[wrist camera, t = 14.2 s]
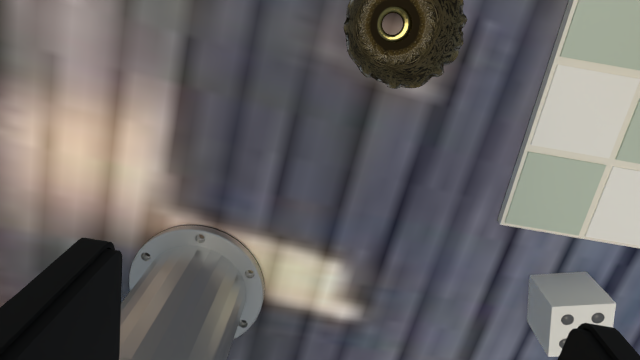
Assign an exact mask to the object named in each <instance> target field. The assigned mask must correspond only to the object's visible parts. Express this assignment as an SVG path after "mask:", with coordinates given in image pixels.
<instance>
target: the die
mask: <svg viewBox="0 0 640 360" xmlns="http://www.w3.org/2000/svg"><path fill="white" fill-rule="evenodd" d="M615 307H616V303H615V302H614V301H613V300H612V299H611V297H610V296H609V295H608V294H607V293H606V292H605V291H604V290H603V289H602V288H601V287H600V286H599V285H598V284H597V282H596V281H595V280H594V279H593V278H592V277H591V276H590V275H589V274H588V273H587V272H572V273H555V274H539V275H530V276H529V293H528V311H527V322H528V324H529V325H530V327H531V329H532V330H533V332H534V334H535V335H536V337H537V339H538V341H539V342H540V344H541V346H542V347H543V349H544V351H545V352H546V354H547V356H548V357H555V356H559V355H560V353H561V351H562V348H563V346H564V344H565V341H566V339H567V336H568V334H569V332H570V331H571V330H572V329H575V328H578V326H580V325H581V324H583V323H590V324H595V325H601V326H607V327H612V328H613V323H614V315H615Z"/></svg>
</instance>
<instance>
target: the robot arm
mask: <svg viewBox="0 0 640 360" xmlns="http://www.w3.org/2000/svg"><path fill="white" fill-rule="evenodd" d="M200 234H201V235H203V236H201V235H200ZM250 270H251V271H250ZM121 280H122V254H121V252H120V251H116V250H115V248H114V245H113V244H112V243H111V242H106V241H100V240H94V239H89V238H81V239H80V240H78V241H77V242H76V243H75V244H74V245H72V246H71V247H70V248H69V249H68V250H67V251H66V252H64V253H63V254H62V255H61V256H60V257H59V258H58V259H56V260H55V261H54V262H53V263H52V264H51V265H50V266H48V267H47V268H46V269H45V270H44V271H43V272H41V273H40V274H39V275H38V276H37V277H36V278H35V279H33V280H32V281H31V282H30V283H29V284H28V285H27V286H25V287H24V288H23V289H22V290H21V291H20V292H19V293H17V294H16V295H15V296H14V297H13V298H12V299H10V300H9V301H7V302H6V303H5V304H4V305H3V306H2V307H0V360H227V358H228V355H229V352H230V349H231V346H232V342H233V339H235V338H237V337H239V336H241V335H242V334H243V333H245V332H246V331H247V330H248V329H249V328H250V327H251V326H252V325H253V323H254V322H255V321H256V319H257V317H258V315H259V313H260V310H261V307H262V304H263V299H264V292H265V290H264V280H263V276H262V273H261V269H260V268H259V266H258V264H257V262H256V260H255V258H254V257H253V256H252V255H251V253H250V252H249V251H248V250H247V249H246V248H245V247H244V246H243V245H242V244H241V243H240V242H238V241H237V240H236V239H234V238H232V237H231V236H229V235H227V234H226V233H223V232H221V231H218V230H216V229H213V228H208V227H203V226H191V225H186V226H179V227H173V228H170V229H167V230H164V231H162V232H160V233H159V234H157V235H155V236H153V237H152V238H151V239H150V240H149V241H148V242H147V243H145V244H144V245H143V247H142V248H141V249H140V250H139V251H138V253H137V255H136V256H135V258H134V260H133V262H132V265H131V269H130V272H129V289H130V292H129V294H128V295H127V296H126V298H125V299H124V300H123V302H122V303H121ZM558 360H640V356H639V354H638V353H637V352H636V351H635V350H634V349H633V347H632V346H631V345H630V344H629V343H628V342H627V341H626V339H625V338H624V337H623V336H622V335H621V334H620V332H619V331H617V330H616V329H615V328H612V327H607V326H601V325H595V324H590V323H583V324H581V325H580V326H578V328H575V329H572V330H571V331H570V332H569V334H568V336H567V339H566V341H565V344H564V346H563V348H562V351H561V353H560V355H559V358H558Z"/></svg>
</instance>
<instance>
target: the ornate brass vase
mask: <svg viewBox="0 0 640 360" xmlns="http://www.w3.org/2000/svg"><path fill="white" fill-rule="evenodd" d="M463 5H464V3H463V0H350V2H349V5H348V8H347V14H346V15H347V19H346V22H345V23H344V32H345V34H346V45H347V50H348V53H349V55H350V57H351V59H352V60H353V61H354V63H355V64H356V65H357V66H358V67H359V70H360V71H361V72H362V74H363V75H365V76H366V77H372V78H374V79H375V80H377V81H380V82H383V83H385V84H387V86H388V87H390V88H400V87H405V88H416V87H420V86H422V85H424V84H425V83H426V82H428V80H429V79H431V78H432V77H434V76H435V77H439V76H440V75H442V74H443V73H444V69H443V67H444V65H447V64H450V63H452V62H453V61H454V60H455V59H456V57H457V56H458V53H459V51H458V49H460V47H461V46H462V44H463V31H462V28H463V27H464V26H465V24H466V22H467V18H466V16H465V15H464V14H463ZM389 13H397V14H399V15H400V16H401V17H402V19H403V28H402V30H401V31H400V32H399V33H398V34H396V35H389V34H387V33H385V32H384V30H383V28H382V21H383V18H384V17H385V16H386V15H387V14H389Z"/></svg>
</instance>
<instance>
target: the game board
mask: <svg viewBox="0 0 640 360" xmlns="http://www.w3.org/2000/svg"><path fill="white" fill-rule="evenodd" d="M497 221H498V222H499V224H500V225H506V226H512V227H517V228H523V229H529V230H535V231H541V232H547V233H553V234H558V235H564V236H570V237H576V238H582V239H588V240H593V241H599V242H605V243H611V244H617V245H623V246H629V247H634V248H640V0H569V2H568V5H567V8H566V11H565V14H564V17H563V20H562V23H561V26H560V29H559V32H558V35H557V38H556V42H555V45H554V48H553V51H552V54H551V57H550V60H549V63H548V66H547V69H546V72H545V75H544V78H543V81H542V85H541V88H540V91H539V94H538V97H537V100H536V103H535V106H534V109H533V112H532V115H531V118H530V121H529V124H528V128H527V131H526V134H525V137H524V140H523V143H522V146H521V149H520V152H519V155H518V158H517V161H516V164H515V167H514V171H513V174H512V177H511V180H510V183H509V186H508V189H507V192H506V195H505V198H504V201H503V204H502V207H501V210H500V214H499V217H498V220H497Z"/></svg>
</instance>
